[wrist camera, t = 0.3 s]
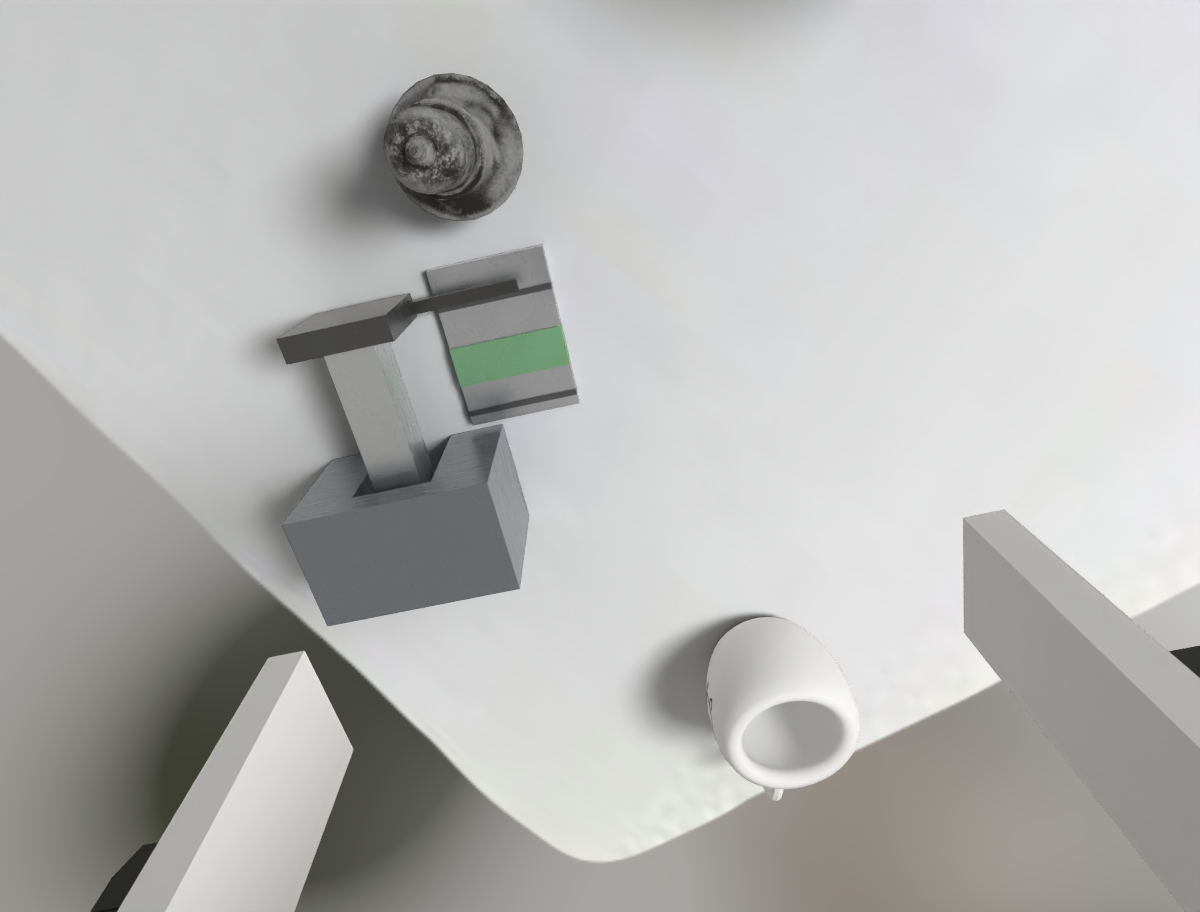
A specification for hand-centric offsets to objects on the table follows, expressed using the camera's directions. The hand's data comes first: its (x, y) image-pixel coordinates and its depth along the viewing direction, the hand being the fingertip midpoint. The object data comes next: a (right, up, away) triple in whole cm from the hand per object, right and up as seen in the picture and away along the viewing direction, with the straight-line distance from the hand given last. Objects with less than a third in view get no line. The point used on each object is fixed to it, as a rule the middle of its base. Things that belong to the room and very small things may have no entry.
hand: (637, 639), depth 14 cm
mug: (+10, -11, +33) cm, 36 cm away
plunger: (-9, +8, +23) cm, 26 cm away
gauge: (-9, +6, +25) cm, 27 cm away
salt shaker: (-7, +18, +20) cm, 28 cm away
